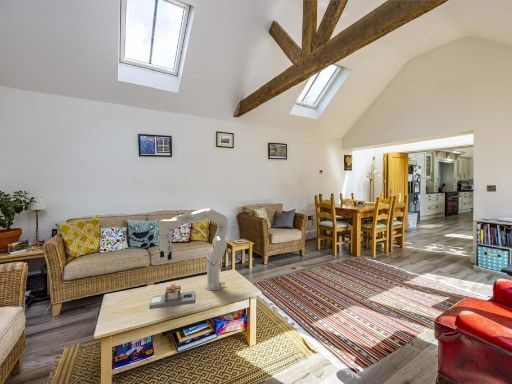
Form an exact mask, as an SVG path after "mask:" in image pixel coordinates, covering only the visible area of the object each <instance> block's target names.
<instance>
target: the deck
mask: <svg viewBox="0 0 512 384" xmlns="http://www.w3.org/2000/svg"><path fill="white" fill-rule="evenodd" d="M195 295H196V293H195V291H185V292H182V298H180V300H178V299H170V300H168V301H167V302H165V300H164V294H159V295H152V297H151V300H150V303H149V309H153V308H161V307H169V306H176V305H177V306H178V305H185V304H190V303H191V304H192V303H196V296H195Z"/></svg>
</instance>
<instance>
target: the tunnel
mask: <svg viewBox="0 0 512 384" xmlns="http://www.w3.org/2000/svg"><path fill="white" fill-rule="evenodd" d="M181 287H182V286H181V285H175V290H171V286H166V288H165V291H164V293H165V302H167V301H168V294H169V293H177V292H178V300H180V290H182V289H181Z"/></svg>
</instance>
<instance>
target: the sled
mask: <svg viewBox="0 0 512 384" xmlns="http://www.w3.org/2000/svg"><path fill="white" fill-rule="evenodd" d="M175 286H176V281H171V282H170V287H171V290H175ZM182 293H183V289H181V290H180V298H182ZM163 295H164V300H165V292H164V293H163ZM170 299H178V292H177V293H169V294H168V300H170Z"/></svg>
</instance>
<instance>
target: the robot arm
mask: <svg viewBox="0 0 512 384" xmlns="http://www.w3.org/2000/svg"><path fill="white" fill-rule="evenodd" d="M205 220H208V221H210V222H212V223H215V224H216V225H217V226H216V227H217V228H216V232H215V234H214V237H213V239H212V242H211V243H212V246H213V247H211V248H209V249H208V250H207V251H206V265H207V266H206V272H207V273H206V276H207V277H206V280H207V281H206V282H207V284H206V285H205V289H206V290H207V291H218V290H220V289H221V288H222V285H223V286H224V285H226V282H225V281H221V280H220V263H221V261H222V259H223V257H224V255H225V251H226V250H227V247H228V243H227V240H226V238H227V237H226V236H227V233H228V231H229V226H228V223H229V219H228V217H227V216H226V215H224V214H222V213H220V212H218V211H216V210H215V209H212V208H210V207H209V208H204V209H199V210H195V211H193V212H188V213H184V214H180V215H176V216H174V217H171V218H170V219H168V218H164V219H160V220H158V221H159V222H158V232H159V233H158V234H159V245H158V246H157V247H158V250H159V257H160V259H162V258H164V257H165V252H166V253H167V257H166V258H167V261H170V260H172V259H173V257H172V256H173V255H172V254H173V251H174V248H173V243H172V239H171V230H176V229H179V228H180V227H181V226H182V225H185V224H196V223H200V222H202V221H205Z"/></svg>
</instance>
